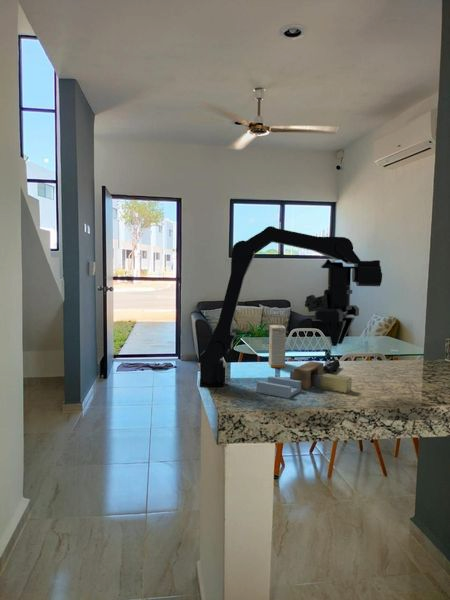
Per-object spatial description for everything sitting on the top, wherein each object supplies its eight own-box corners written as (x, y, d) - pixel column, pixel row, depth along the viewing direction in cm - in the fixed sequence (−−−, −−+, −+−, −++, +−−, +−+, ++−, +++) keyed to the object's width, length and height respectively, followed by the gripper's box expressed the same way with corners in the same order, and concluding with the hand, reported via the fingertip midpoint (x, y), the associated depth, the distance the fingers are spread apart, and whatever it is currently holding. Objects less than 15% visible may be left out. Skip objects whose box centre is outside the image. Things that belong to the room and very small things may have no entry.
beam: (293, 387, 114) (294, 368, 113) (309, 378, 124) (310, 361, 123) (307, 389, 111) (308, 370, 111) (323, 380, 121) (323, 362, 121)
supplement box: (285, 368, 137) (286, 328, 136) (270, 367, 137) (271, 327, 136) (282, 362, 145) (283, 324, 144) (268, 362, 145) (269, 324, 144)
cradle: (256, 392, 108) (256, 382, 108) (270, 385, 115) (270, 375, 115) (288, 398, 104) (288, 387, 103) (301, 390, 110) (301, 381, 110)
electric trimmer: (342, 369, 138) (343, 360, 138) (328, 378, 125) (328, 368, 125) (331, 368, 140) (331, 358, 140) (315, 376, 127) (316, 366, 127)
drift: (289, 383, 118) (290, 371, 118) (296, 381, 121) (296, 368, 121) (319, 389, 113) (320, 376, 112) (325, 387, 115) (325, 374, 115)
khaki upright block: (320, 389, 113) (321, 375, 113) (326, 386, 116) (326, 373, 116) (346, 394, 109) (346, 380, 109) (351, 391, 112) (351, 377, 111)
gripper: (321, 284, 123) (320, 337, 124) (296, 285, 107) (294, 346, 108) (360, 285, 117) (358, 341, 118) (339, 287, 101) (337, 351, 102)
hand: (337, 344), depth 111 cm, fingers open, 4 cm apart
